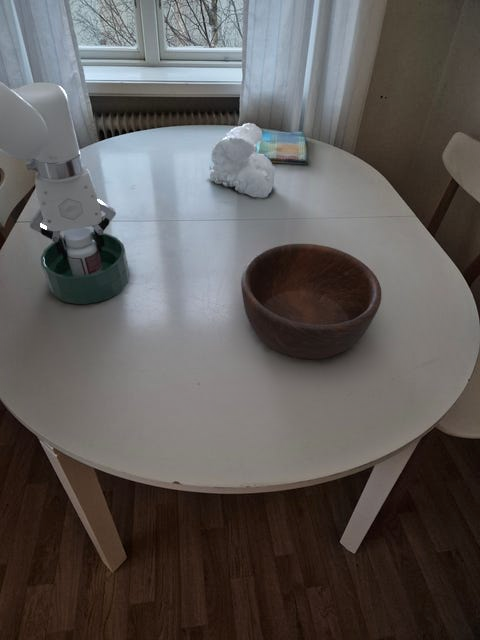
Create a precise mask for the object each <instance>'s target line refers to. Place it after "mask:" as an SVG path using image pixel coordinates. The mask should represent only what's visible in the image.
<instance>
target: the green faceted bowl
mask: <svg viewBox="0 0 480 640" xmlns="http://www.w3.org/2000/svg"><path fill="white" fill-rule="evenodd" d="M91 233H92V237H93V240H94V241H95V242H96V238H95V234H94V231H91ZM102 235H103V239H104V244H105V246H101V247H102V251H103V252H101V253H100V252H99V255H100V259H101V263H102V267H103V270H102V271H99V272H97V273H94V274H89V275H84V276H73V274H72V271H71V267H70V264H69V261H68V257H67V258H66V259H63V256H62V253H61V254H58V251H57V248H56V245H55V242H53V241H52V243H50V244H49V245H48V246H47V247H46V248H44V250H43V252H42V254H41V256H40V265H41V268H42V271H43V274H44V277H45V279H46V282H47V285H48V288H49V290H50V292H51V293H52V294H53V296H54V297H55V298H57V299H59V300H61V301H63V302H65V303H70V304H74V305H85V304H86V305H87V304H88V305H89V304H93V303H99V302H103V301H105V300H107V299H109V298H112V297H114V296H116V295H117V294H119V293H120V292H121V291H123V289H124V288H125V287H126V285H128V283H129V280H130V268H129V264H128V258H127V252H126V248H125V245H124V243H123V242H122V241H121V240H120V239H119V238H118V237H116V236H115V235H111V234H110V233H104V232H103V234H102ZM62 239H63V242H64V245H65V248H66V243H65V239H64V236H62ZM96 243H97V242H96ZM98 251H99V250H98Z"/></svg>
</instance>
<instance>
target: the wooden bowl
mask: <svg viewBox="0 0 480 640" xmlns="http://www.w3.org/2000/svg"><path fill="white" fill-rule="evenodd" d="M378 279H379V278H377V276H376V274H375V273H374V272H373V270H371V268H370V267H369V266H367V265H366V264H365V263H364V262H363V261H361V260H360V259H358V258H357V257H355V256H353V255H351V254H349V253H347V252H346V251H342V250H340V249H337V248H335V247H330V246H327V245H321V244H314V243H287V244H282V245H277V246H274V247H271V248H268V249H265V250H263V251H261V252H259V253H258V254H257V255H255V256H253V257H252V258H251V260H249V262H248V263H247V264H246V265H245V267H244V270H243V272H242V275H241V280H240V284H241V285H240V286H241V295H242V296H241V297H242V302H243V303H242V304H243V307H244V311H245V315H246V318H247V320H248V322H249V325H250V326H251V328H252V329H253V331H254V333H255V334H256V335H257V336H258V338H259V339H260V340H261V341H263V343H264V344H266V345H267V346H268V347H270V348H271V349H273V350H275V351H277V352H279V353H281V354H284V355H287V356H290V357H293V358H298V359H303V360H304V359H305V360H321V359H326V358H331V357H334V356H336V355H339V354H341V353H343V352H344V351H346V350H348V349H350V348H351V347H352V346H353V345H354V344H356V343H358V341H359V340H360V339H361V338H362V337H363V335H365V333H366V331H367V330H369V329H368V328H369V327H370V325H371V324H372V322H373V320H374V318H375V316H376V315H377V313H378V311H379V308H380V306H381V303H382V288H381V283H380V281H379V280H378Z"/></svg>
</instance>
